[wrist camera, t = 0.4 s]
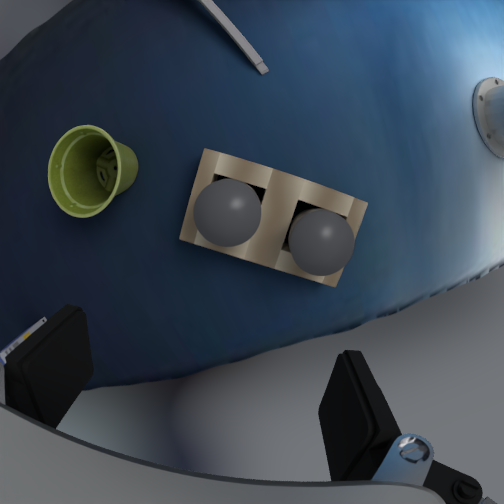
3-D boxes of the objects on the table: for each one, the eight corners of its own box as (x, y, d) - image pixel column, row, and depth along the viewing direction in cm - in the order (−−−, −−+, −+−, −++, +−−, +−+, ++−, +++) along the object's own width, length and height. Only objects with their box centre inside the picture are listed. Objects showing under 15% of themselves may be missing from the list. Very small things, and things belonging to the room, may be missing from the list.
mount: (357, 198, 34) (368, 203, 31) (328, 275, 37) (335, 287, 33) (210, 150, 33) (204, 148, 30) (187, 231, 36) (179, 239, 32)
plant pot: (163, 185, 35) (135, 191, 26) (103, 217, 36) (66, 232, 28) (135, 118, 33) (101, 107, 24) (78, 155, 34) (37, 155, 25)
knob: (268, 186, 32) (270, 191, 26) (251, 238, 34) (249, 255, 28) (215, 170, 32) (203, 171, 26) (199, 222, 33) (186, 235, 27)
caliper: (172, -19, 27) (159, -42, 21) (179, -23, 27) (167, -47, 21) (262, 75, 31) (261, 58, 25) (269, 71, 31) (270, 52, 25)
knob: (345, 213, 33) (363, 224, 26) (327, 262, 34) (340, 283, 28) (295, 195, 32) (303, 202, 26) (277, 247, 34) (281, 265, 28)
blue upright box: (33, 343, 43) (-4, 378, 31) (24, 330, 42) (-14, 363, 30) (54, 330, 41) (13, 368, 30) (44, 316, 41) (2, 352, 29)
